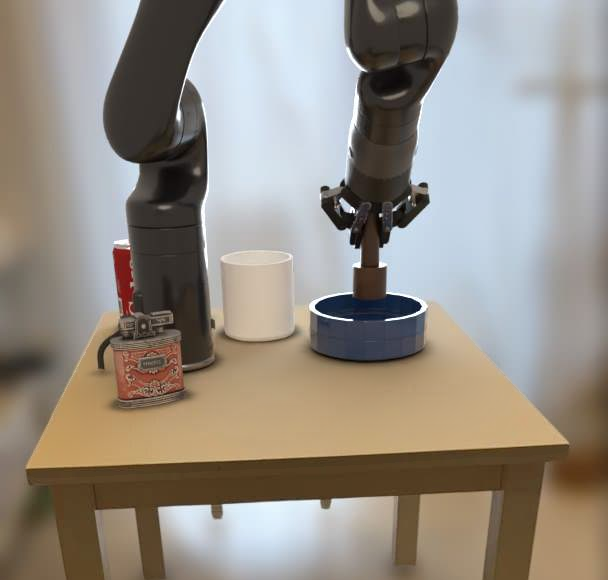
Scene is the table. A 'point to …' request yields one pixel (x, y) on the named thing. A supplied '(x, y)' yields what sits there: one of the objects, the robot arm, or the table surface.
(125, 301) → the soda can
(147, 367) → the lighter
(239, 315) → the mug
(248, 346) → the table surface
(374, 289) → the brown peg with base
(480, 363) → the table surface
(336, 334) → the bowl
